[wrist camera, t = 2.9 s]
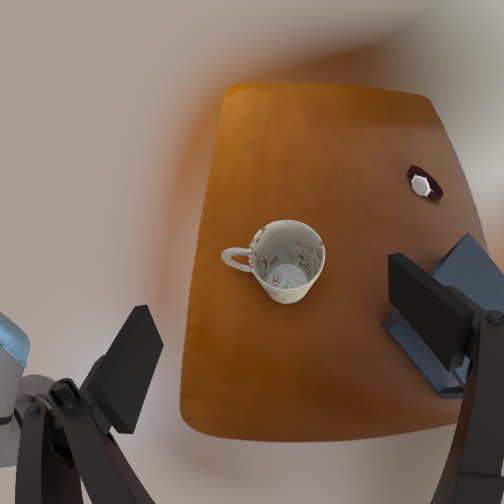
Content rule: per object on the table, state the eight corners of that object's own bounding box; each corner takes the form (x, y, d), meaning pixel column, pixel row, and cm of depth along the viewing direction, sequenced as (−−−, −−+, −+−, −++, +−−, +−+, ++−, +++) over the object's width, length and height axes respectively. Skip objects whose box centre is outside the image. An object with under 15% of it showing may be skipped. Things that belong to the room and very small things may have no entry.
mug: (312, 316, 39) (320, 295, 30) (221, 302, 41) (202, 277, 32) (320, 259, 42) (328, 224, 33) (234, 247, 44) (220, 211, 35)
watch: (400, 178, 46) (405, 165, 43) (415, 168, 47) (420, 155, 44) (430, 209, 43) (438, 197, 40) (444, 197, 44) (452, 185, 40)
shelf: (441, 398, 31) (476, 399, 23) (380, 324, 37) (403, 308, 29) (495, 325, 33) (529, 310, 25) (440, 259, 39) (467, 231, 31)
